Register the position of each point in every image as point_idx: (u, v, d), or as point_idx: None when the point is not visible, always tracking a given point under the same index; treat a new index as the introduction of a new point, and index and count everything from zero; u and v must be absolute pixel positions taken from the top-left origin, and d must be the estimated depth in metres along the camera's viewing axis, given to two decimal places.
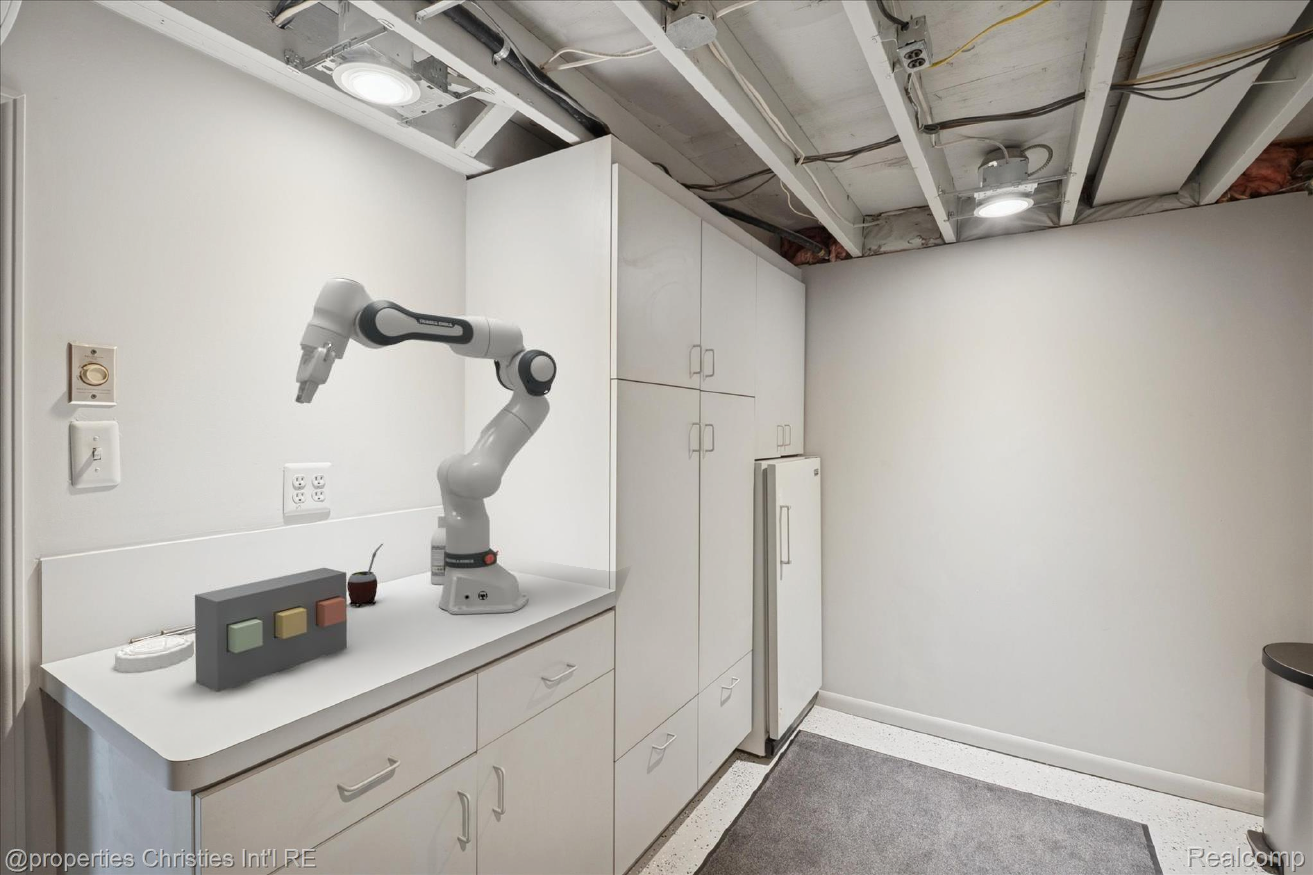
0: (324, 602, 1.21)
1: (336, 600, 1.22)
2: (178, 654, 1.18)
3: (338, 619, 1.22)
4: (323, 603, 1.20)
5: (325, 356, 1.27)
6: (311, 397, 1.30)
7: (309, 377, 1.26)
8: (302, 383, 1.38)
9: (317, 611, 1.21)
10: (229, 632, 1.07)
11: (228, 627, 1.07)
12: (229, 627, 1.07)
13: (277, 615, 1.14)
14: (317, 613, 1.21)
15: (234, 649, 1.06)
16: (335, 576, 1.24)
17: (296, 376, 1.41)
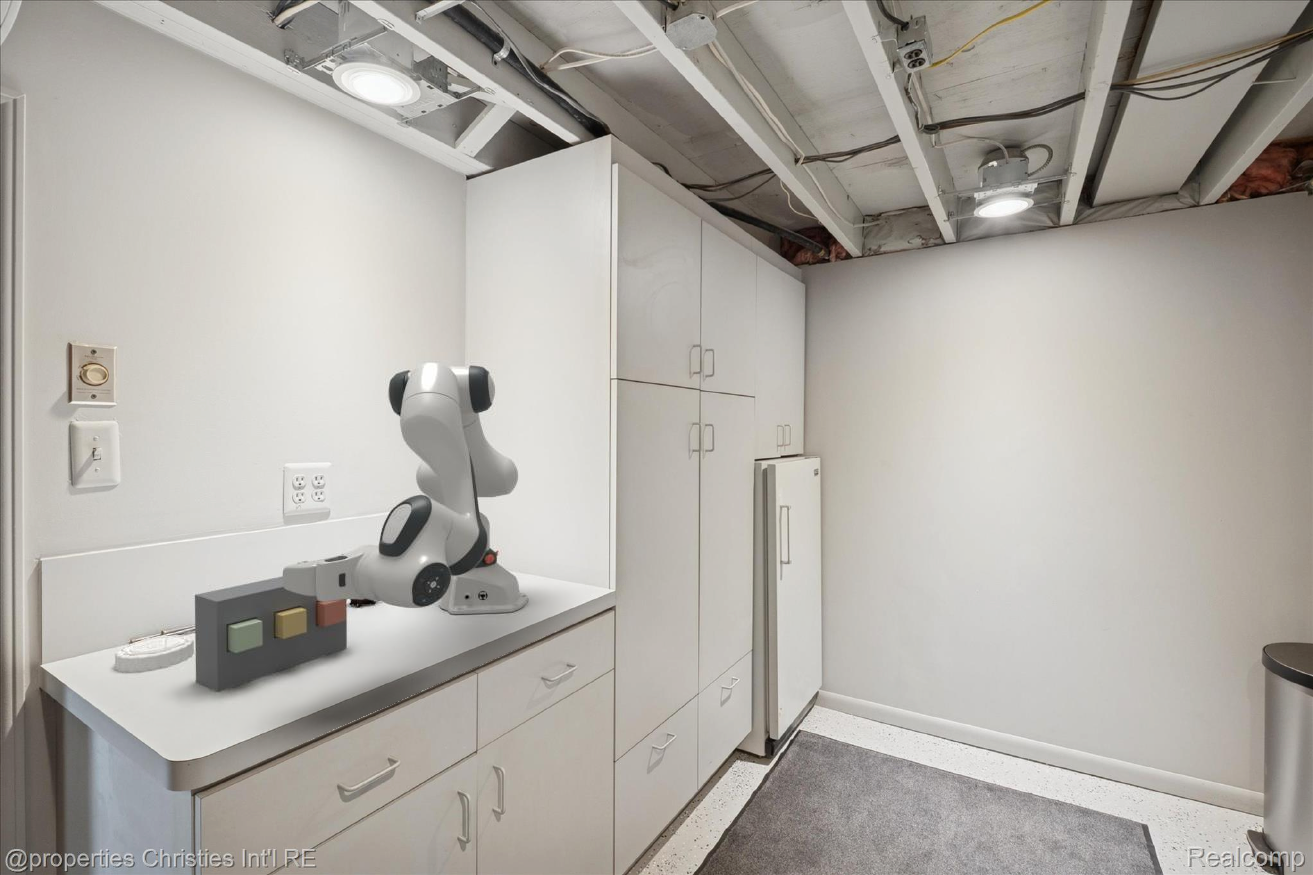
0: (324, 602, 1.21)
1: None
2: (178, 654, 1.18)
3: (338, 619, 1.22)
4: (323, 603, 1.20)
5: None
6: None
7: None
8: None
9: (317, 611, 1.21)
10: (229, 632, 1.07)
11: (228, 627, 1.07)
12: (229, 627, 1.07)
13: (277, 615, 1.14)
14: (317, 613, 1.21)
15: (234, 649, 1.06)
16: None
17: None
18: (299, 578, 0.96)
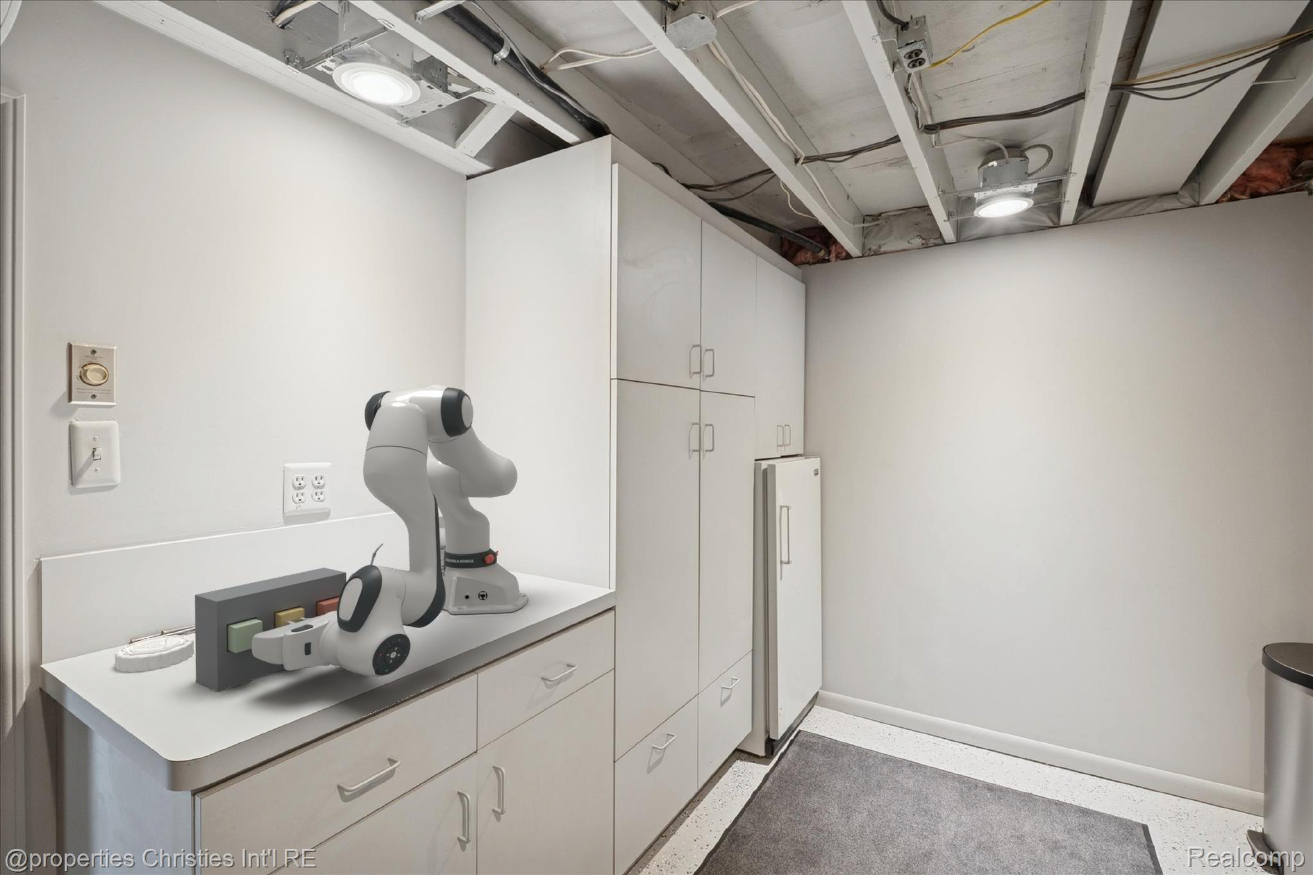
0: (324, 602, 1.21)
1: (336, 600, 1.22)
2: (178, 654, 1.18)
3: None
4: (323, 603, 1.20)
5: None
6: None
7: None
8: None
9: (317, 611, 1.21)
10: (229, 632, 1.07)
11: (228, 627, 1.07)
12: (229, 627, 1.07)
13: (275, 614, 1.14)
14: (317, 613, 1.21)
15: (234, 649, 1.06)
16: (335, 576, 1.24)
17: None
18: (267, 647, 1.02)
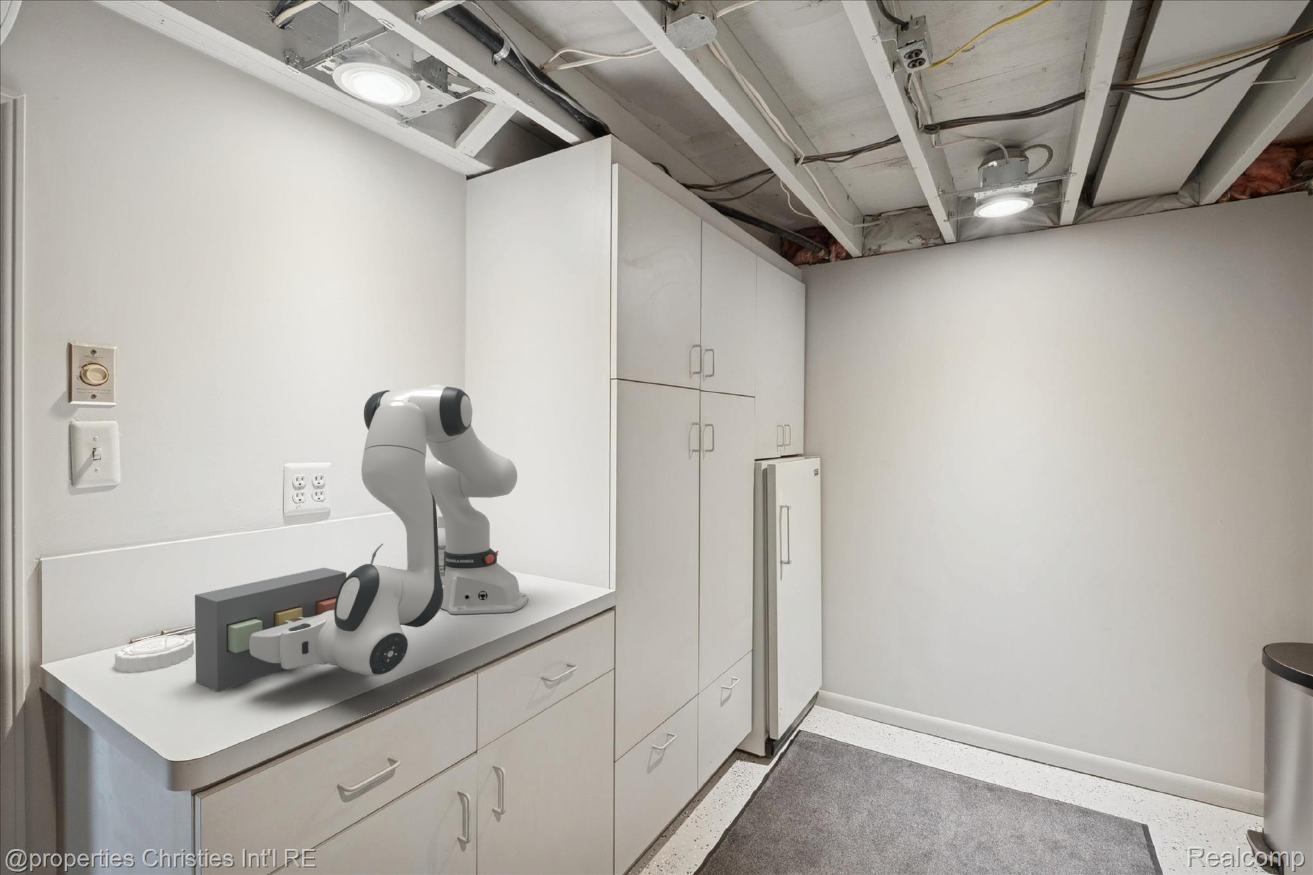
0: (324, 602, 1.21)
1: None
2: (178, 654, 1.18)
3: None
4: (323, 603, 1.20)
5: None
6: None
7: None
8: None
9: (317, 611, 1.21)
10: (229, 632, 1.07)
11: (228, 627, 1.07)
12: (229, 627, 1.07)
13: None
14: (317, 613, 1.21)
15: (234, 649, 1.06)
16: (335, 576, 1.24)
17: None
18: (264, 646, 1.02)
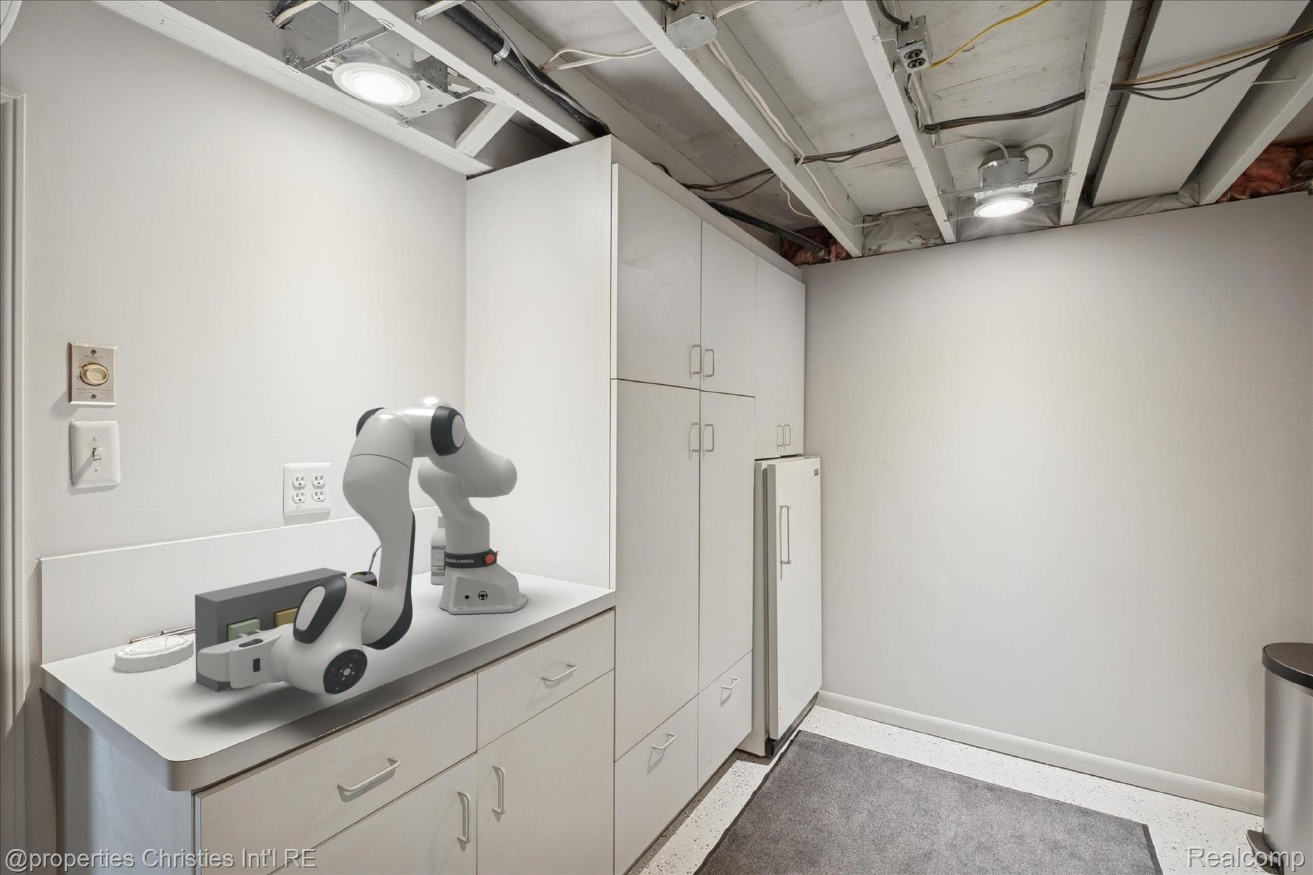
0: None
1: None
2: (179, 654, 1.18)
3: None
4: None
5: None
6: None
7: None
8: None
9: None
10: None
11: None
12: (227, 626, 1.07)
13: None
14: None
15: None
16: None
17: None
18: (212, 664, 0.95)
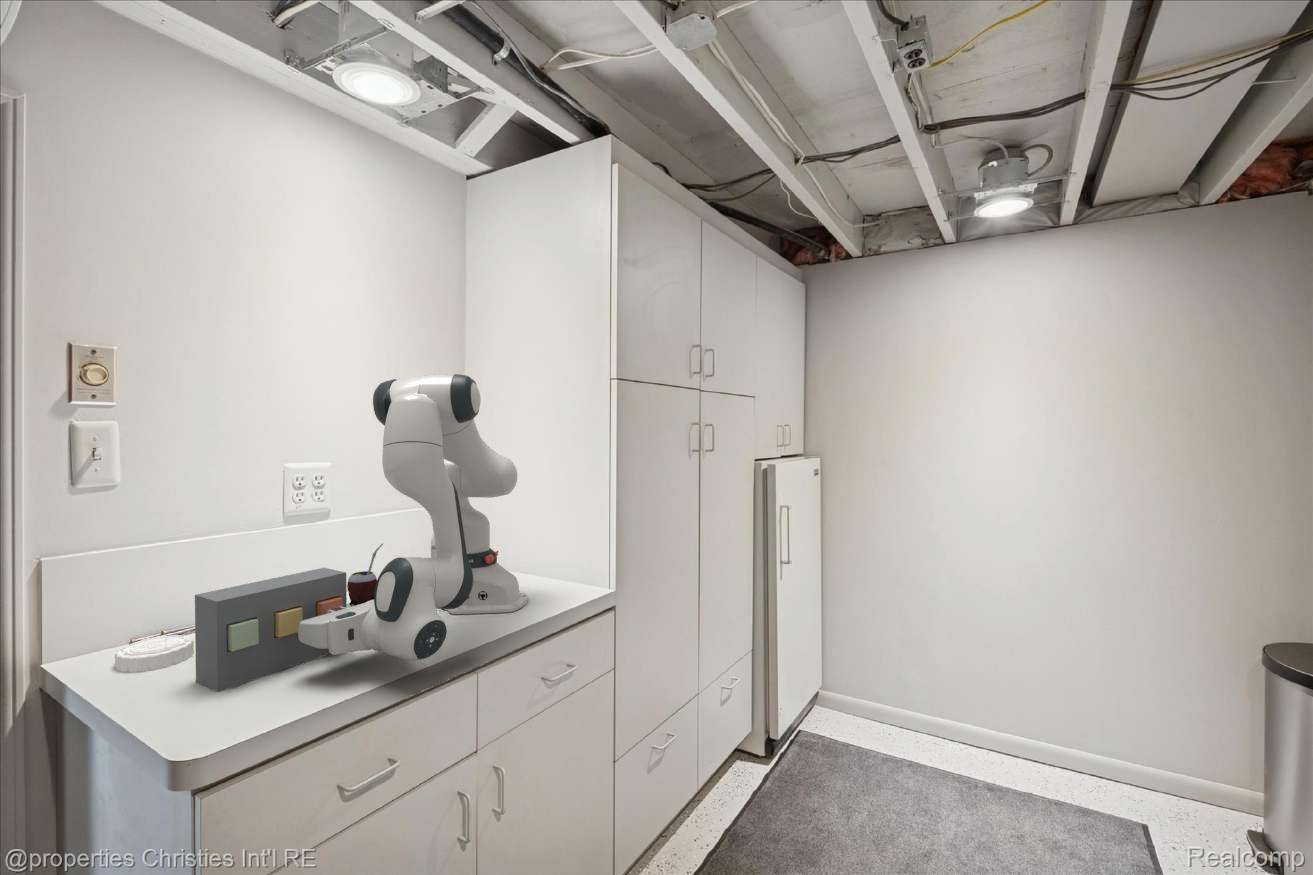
0: (321, 601, 1.21)
1: (333, 599, 1.23)
2: (179, 654, 1.18)
3: None
4: (320, 602, 1.21)
5: None
6: None
7: None
8: None
9: None
10: None
11: None
12: None
13: None
14: None
15: (230, 647, 1.07)
16: (335, 576, 1.24)
17: None
18: (313, 633, 1.09)
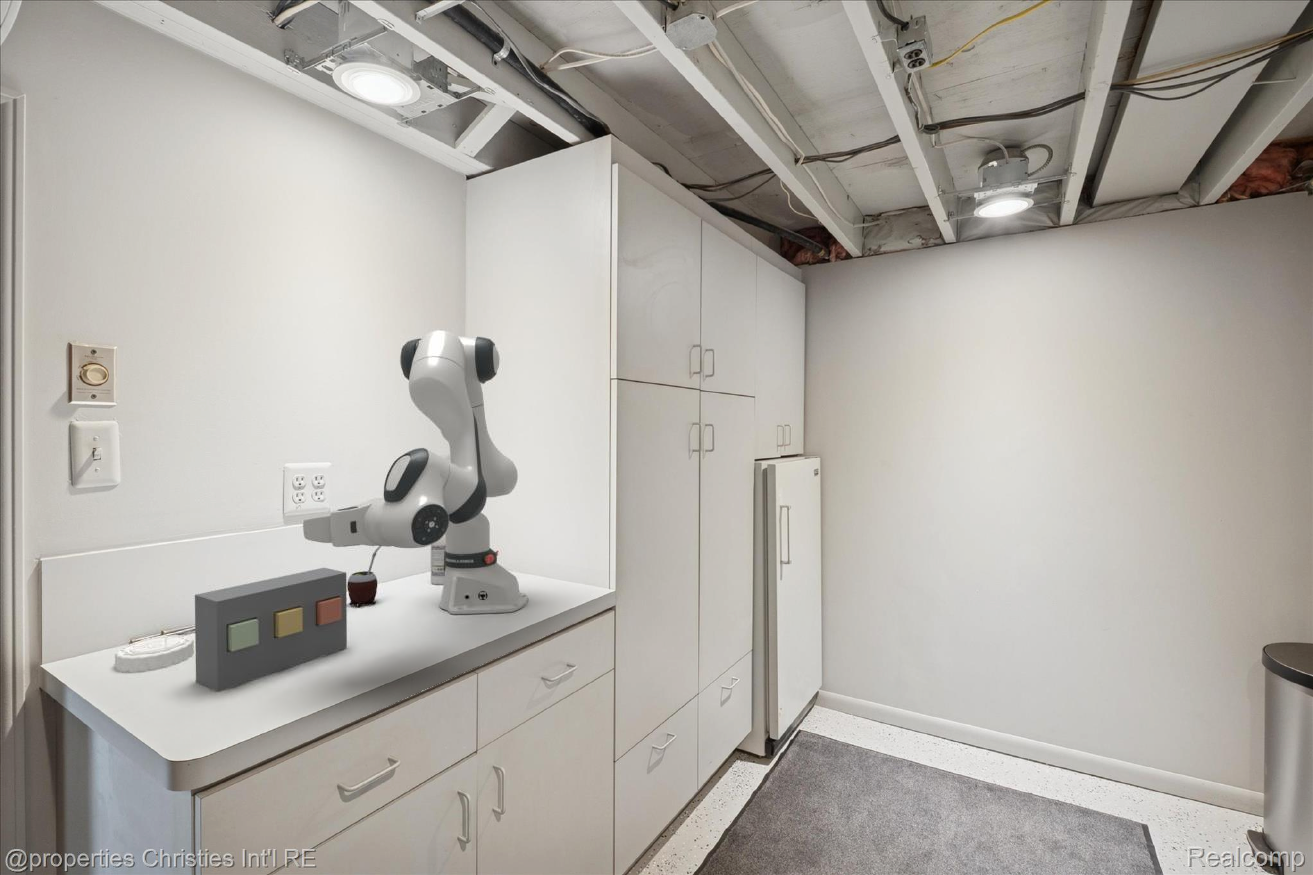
0: (320, 601, 1.22)
1: (332, 599, 1.23)
2: (179, 654, 1.18)
3: (334, 618, 1.23)
4: (319, 602, 1.21)
5: None
6: None
7: None
8: None
9: None
10: None
11: None
12: None
13: None
14: None
15: (230, 647, 1.07)
16: (335, 576, 1.24)
17: None
18: (316, 527, 1.07)
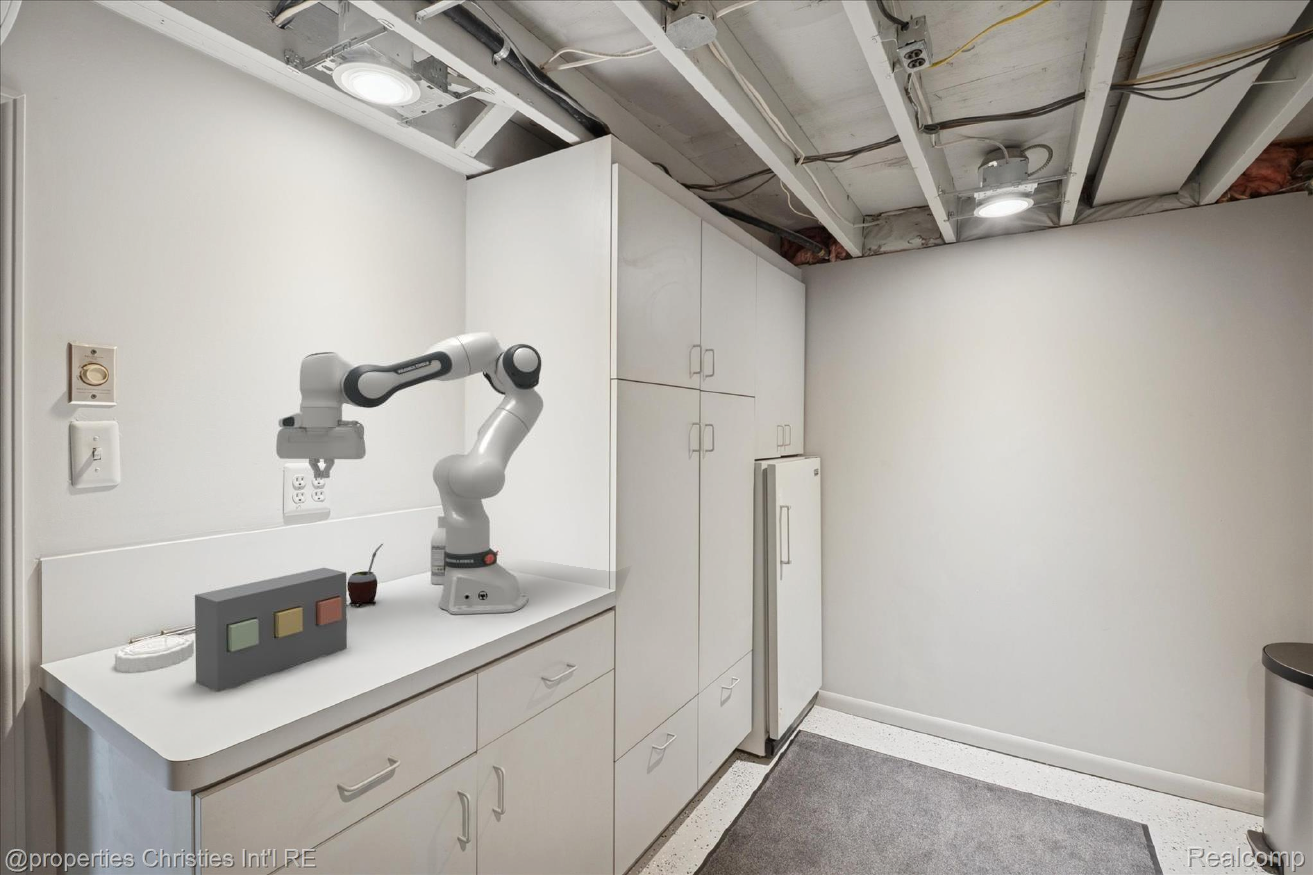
0: (320, 601, 1.22)
1: (332, 599, 1.23)
2: (179, 654, 1.18)
3: (334, 618, 1.23)
4: (319, 602, 1.21)
5: (362, 435, 1.42)
6: (329, 472, 1.44)
7: (356, 457, 1.41)
8: None
9: None
10: None
11: None
12: None
13: None
14: None
15: (230, 647, 1.07)
16: (335, 576, 1.24)
17: (279, 453, 1.42)
18: None
